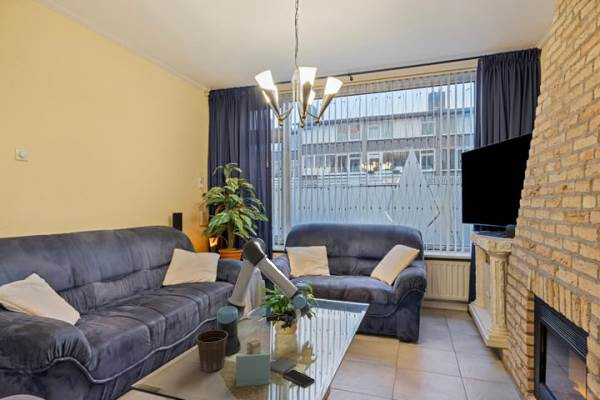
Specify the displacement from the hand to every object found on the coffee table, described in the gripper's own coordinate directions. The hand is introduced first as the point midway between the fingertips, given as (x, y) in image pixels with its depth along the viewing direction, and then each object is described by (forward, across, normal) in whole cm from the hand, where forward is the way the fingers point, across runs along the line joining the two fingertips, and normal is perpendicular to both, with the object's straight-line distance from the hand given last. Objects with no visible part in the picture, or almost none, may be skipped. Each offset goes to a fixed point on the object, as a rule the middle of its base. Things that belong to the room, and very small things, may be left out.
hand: (267, 326), depth 184 cm
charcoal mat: (0, -9, -19) cm, 21 cm away
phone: (+4, -24, -20) cm, 31 cm away
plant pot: (+21, +20, -19) cm, 35 cm away
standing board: (+20, -8, -19) cm, 28 cm away
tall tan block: (+10, +1, -19) cm, 22 cm away
